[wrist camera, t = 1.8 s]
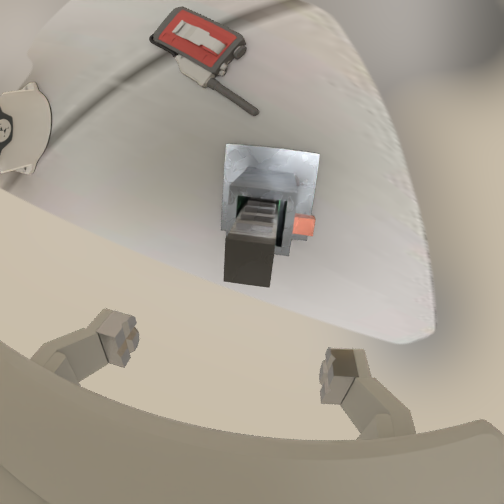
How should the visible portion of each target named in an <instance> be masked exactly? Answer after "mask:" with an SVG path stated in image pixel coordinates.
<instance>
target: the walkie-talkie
mask: <svg viewBox="0 0 504 504" xmlns="http://www.w3.org/2000/svg"><path fill="white" fill-rule="evenodd" d="M153 38H154V40H153ZM149 40H150V42H151V43H153V44H155V45H157V46H159V47H161V48H163V49H164V50H166V51H168V52H170V53H171V54H172V55H173V57H174V59H175V60H177V62H178V65H179V69H180V71H181V73H183V74H185V75H186V76H188V77H190V78H191V79H193V80H194V81H196V82H197V83H198V84H199V85H200V86H202V87H204V88H206V87H207V86H208V87H210V88H212V89H215V90H216V91H218V92H220V93H221V94H223V95H224V96H226V97H227V98H229V99H230V100H231V101H233V102H234V103H236V104H237V105H239V106H240V107H242V108H243V109H244V110H246V111H247V112H249V113H250V114H251V115H253V116H256V115H257V114H258V109H257V108H255V107H254V106H252V105H251V104H249V103H248V102H247V101H245V100H244V99H242V98H241V97H239V96H238V95H236V94H235V93H233V92H232V91H230V90H229V89H227V88H226V87H224V86H223V85H221V84H220V83H219V82H218V81H217V80H215V79H214V77H215V76H219V75H221V76H224V75H225V73H226V71H224V70H225V69H226V68H227V67H228V66H227V65H228V64H229V63H230V62H231V61H232V59H233V58H234V57H235V58H236V59H238V58H240V57H241V56H242V55H243V54H244V53H245V51H246V47H245V45H246V43H245V40H244V38H243V36H242V35H241V34H239V33H237V32H235V31H233V30H231V29H229V28H228V27H226V26H224V25H222V24H220V23H218V22H214V20H211V19H208V18H207V17H205V16H202V15H201V14H198V13H196V12H193V11H192V10H189V9H187V8H184V7H178V8H175V9H174V10H173V11H172V12H171V13H170V14H169V15H168V16H167V18H166V19H165V20H164V21H163V22H162V24H161V25H160V26H159V27H158V29H157V30H156V31H155V33H154V34H152V35H151V36H150V38H149ZM156 42H157V43H156ZM173 51H174V52H173ZM175 52H176V53H177V54H179V55H178V56H177V55H176V53H175Z"/></svg>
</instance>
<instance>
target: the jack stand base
mask: <svg viewBox="0 0 504 504" xmlns="http://www.w3.org/2000/svg"><path fill="white" fill-rule="evenodd" d="M319 157H320V154H319V153H312V152H305V151H298V150H291V149H283V148H274V147H265V146H254V145H243V144H229V143H227V144H226V151H225V165H224V181H223V198H222V216H221V230H223V231H226V237H227V235H228V234H229V232H230V230H231V228H232V226H233V224H234V223H235V221H236V219H237V217H238V215H239V213H240V212H241V210H242V208H243V206H244V204H245V203H246V201H247V199H248V197H258V198H266V199H275V200H280V206H279V214H278V221H277V232H276V242H275V251H274V254H276V255H284V256H289V252H290V245H291V239H295V240H303V241H307V236H313V231H314V225H315V217H314V216H312V215H311V212H312V206H313V200H314V193H315V186H316V179H317V172H318V165H319Z"/></svg>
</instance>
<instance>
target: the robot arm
mask: <svg viewBox="0 0 504 504" xmlns="http://www.w3.org/2000/svg"><path fill="white" fill-rule="evenodd" d="M50 129H51V112H50V107H49V103H48V101H47V99H46V97H45V96H44V95H43V94H42V93H41V92H39V90H38V87H37V85H36V83H35V82H30V83H28V84H27V85H26V86H25V87H23V88H22V89H21V90H19V91H11V92H4V93H2V95H1V96H0V174H2V173H5V172H9V171H12V170H13V171H16V172H20V173H23V174H27V175H29V174H33V172H34V170H35V167H36V163H37V161H38V159H39V158H40V157H41V155H42V154H43V152H44V150H45V148H46V145H47V143H48V139H49V135H50ZM135 325H136V319H135V317H134V316H132V315H128V314H124V313H121V312H118V311H113V310H110V309H107V308H106V309H103V310H102V311H101V312H100V313H99V314H98V316H97V317H96V318H95V319H94V320H93V321H92V322H91V324H90V325H89V326H88V327H87V328H86V329H85V328H82V329H80V330H77V331H75V332H72V333H70V334H67V335H65V336H62V337H59V338H57V339H55V340H52V341H50V342H47V343H44V344H43V345H42V346H41V347H40V348H39V350H38V351H37V352H36V353H35V354H34V355H33V357H32V358H31V359H28V358H26V357H25V356H23V355H21V354H20V353H18V352H17V351H15V350H14V349H12V348H10V347H9V346H8V345H6V344H5V343H3V342H2V341H0V504H504V435H503V434H502V433H501V432H500V431H499V430H498V429H497V428H495V427H494V426H493V425H492V424H491V423H489V422H487V421H486V420H483V419H481V420H476V421H472V422H468V423H465V424H461V425H457V426H453V427H449V428H445V429H440V430H435V431H430V432H425V433H418V434H416V431H415V427H414V423H413V420H412V416H411V413H410V410H409V409H408V408H407V407H406V406H405V405H403V404H402V403H401V402H400V401H399V400H398V399H397V398H396V397H395V396H394V395H393V394H392V393H391V392H390V391H388V390H387V389H386V388H385V387H384V386H383V385H382V384H381V383H380V382H379V381H378V380H377V379H376V378H372V377H371V373H370V369H369V365H368V361H367V358H366V354H365V351H364V349H349V348H331V347H328V349H327V351H326V354H325V355H326V359H325V360H324V361H323V362H322V365H321V368H320V376H319V380H320V383H321V385H322V388H321V391H320V396H321V403H322V404H339V405H341V407H342V408H343V410H344V411H345V413H346V414H347V415H348V417H349V418H350V419H351V421H352V422H353V424H354V425H355V426H356V428H357V429H358V430H359V432H360V433H361V435H360V436H359V437H358V438H357V439H356V440H337V441H336V440H335V441H334V440H333V441H332V440H328V441H327V440H295V439H281V438H270V437H261V436H253V435H246V434H239V433H233V432H226V431H221V430H216V429H211V428H206V427H201V426H197V425H192V424H188V423H184V422H180V421H176V420H173V419H169V418H165V417H162V416H158V415H155V414H152V413H149V412H146V411H142V410H139V409H136V408H134V407H130V406H128V405H125V404H122V403H119V402H117V401H114V400H112V399H109V398H107V397H104V396H102V395H99V394H97V393H95V392H92V391H90V390H87V389H85V388H83V387H81V385H80V384H79V382H80V381H81V380H83V379H85V378H86V377H88V376H89V375H91V374H93V373H94V372H96V371H98V370H99V369H101V368H102V367H104V366H106V365H107V364H108V363H110V364H114V365H117V366H120V367H125V366H126V364H127V362H128V361H129V359H130V358H131V357H130V353H131V352H133V351H135V349H136V348H137V346H138V342H139V332H138V330H137V329H136V328H135Z"/></svg>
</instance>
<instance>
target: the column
mask: <svg viewBox="0 0 504 504" xmlns="http://www.w3.org/2000/svg"><path fill="white" fill-rule="evenodd" d="M279 206H280V200H275V199H266V198H258V197H248V199H247V201H246V203H245V204H244V206H243V208H242V210H241V212H240V213H239V215H238V217H237V219H236V221H235V223H234V224H233V226H232V228H231V230H230V232H229V234H228V235H227V237H226V242H225V262H224V281H225V282H232V283H239V284H246V285H254V286H261V287H270V280H271V273H272V265H273V258H274V251H275V242H276V232H277V221H278V214H279Z"/></svg>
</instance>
